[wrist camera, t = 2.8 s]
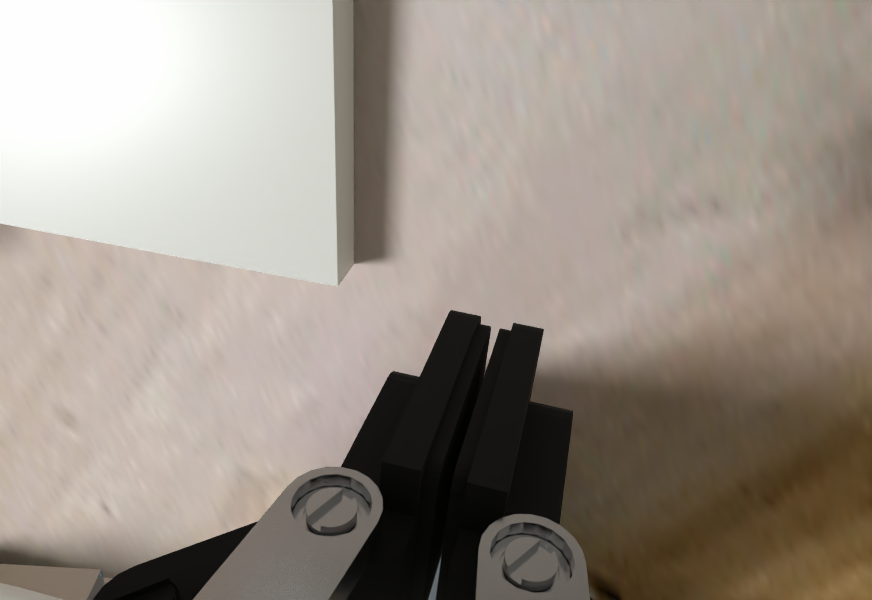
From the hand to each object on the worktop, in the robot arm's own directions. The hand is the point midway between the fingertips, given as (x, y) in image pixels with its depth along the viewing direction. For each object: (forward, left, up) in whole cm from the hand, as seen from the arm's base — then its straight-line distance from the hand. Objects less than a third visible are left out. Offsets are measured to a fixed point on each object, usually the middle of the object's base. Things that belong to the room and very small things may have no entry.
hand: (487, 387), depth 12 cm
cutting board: (-1, -14, -10) cm, 17 cm away
